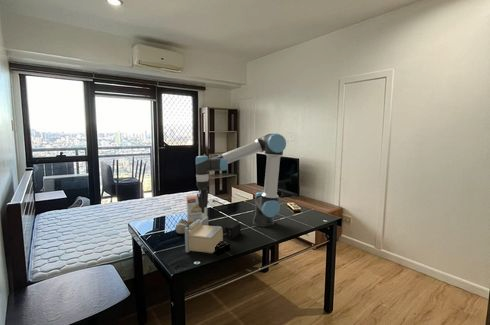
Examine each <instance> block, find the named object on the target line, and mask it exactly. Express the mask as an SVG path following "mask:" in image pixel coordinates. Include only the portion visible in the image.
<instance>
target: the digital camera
mask: <svg viewBox="0 0 490 325" xmlns="http://www.w3.org/2000/svg"><path fill="white" fill-rule="evenodd" d="M224 229H225V230H224V232H225V233H226V238H227V239H232V240H233V239H235V238H236V237H238V235H240V234H241V223H240V222H233V223H231V224H229V225H226V226H225V228H224Z"/></svg>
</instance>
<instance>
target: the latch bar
mask: <svg viewBox="0 0 490 325" xmlns="http://www.w3.org/2000/svg"><path fill="white" fill-rule="evenodd" d="M200 222H201V219H197V220H196V221H195V222H193V223H192V224H191V225H189V230H190V229H192V228H193V227H195V226H196V225H197V224H198V223H200Z"/></svg>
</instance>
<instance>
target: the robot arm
mask: <svg viewBox="0 0 490 325" xmlns="http://www.w3.org/2000/svg"><path fill="white" fill-rule="evenodd" d="M286 147H287V141H286V138H285V136H283V135H281V134H280V133H268V134H265V135H262V136H261V137H259V138H256V139H255V141H253V142H251V143H248V144H245V145H243V146H240V147H236V148H234V149H232V150H229V151H227V152H224V153H222V154H219V155H215V156H213V157H212V158H209V156H207V155H198V156H196V157H195V171H196V173H195V177H196V187H197V188H198V193H197V194H196V195H197V197H198V202H199V208H201V217H202V218H206V207H207V208H208V203H209V202H208V201H209V200H208V199H209V191H210V190H209V189H208V188H209V186H210V184H209V183H210V182H209V178H210V177H209V175H210V174H209V172H215V171H216V172H217V171H227V170H228V164H231V163H234V162H236V161H238V160H241V159H243V158H247V157H248V156H251V155H254V154H256V153H263V152H264V155H265V156H266V164H265V173H264V175H265V176H264V186H263V187H264V188H263V189H264V190H263V191H258V192H256V193H255V196H254V201H255V202H254V203H255V204H254V206H255V212H254V216H253V219H252V224H253V225H254V226H255V227H258V228H259V227H260V228H268V227H271V226H274V224H275V219H274V217H276V216H277V215H278V214H279V213H280V211H281V206H280V203H279V200H280V196H279V195H278V184H279V173H280V162H281V157H282V156H283V155H284V154H283V153H284V150H285V149H286Z"/></svg>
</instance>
